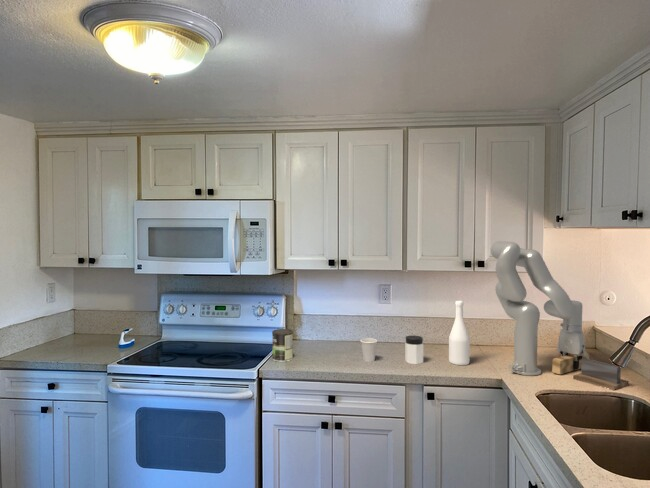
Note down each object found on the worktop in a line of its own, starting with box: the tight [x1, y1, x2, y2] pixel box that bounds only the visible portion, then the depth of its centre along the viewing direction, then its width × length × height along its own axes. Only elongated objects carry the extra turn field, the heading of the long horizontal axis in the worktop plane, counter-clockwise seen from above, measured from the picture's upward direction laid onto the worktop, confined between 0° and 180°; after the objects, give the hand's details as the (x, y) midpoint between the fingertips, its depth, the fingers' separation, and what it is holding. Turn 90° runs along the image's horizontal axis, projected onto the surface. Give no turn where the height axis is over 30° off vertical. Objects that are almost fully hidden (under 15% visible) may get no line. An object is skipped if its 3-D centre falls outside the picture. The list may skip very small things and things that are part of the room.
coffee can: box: [271, 328, 294, 363], centre depth 218 cm, size 10×10×14 cm
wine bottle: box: [448, 300, 471, 366], centre depth 210 cm, size 10×10×30 cm
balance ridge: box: [572, 358, 630, 391], centre depth 183 cm, size 12×16×8 cm
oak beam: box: [551, 352, 590, 375], centre depth 199 cm, size 24×4×6 cm, turn 122°
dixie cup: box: [359, 337, 378, 363], centre depth 215 cm, size 8×8×10 cm
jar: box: [404, 335, 424, 365], centre depth 212 cm, size 9×8×12 cm
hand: (571, 367), depth 199 cm, fingers closed on oak beam, 3 cm apart
